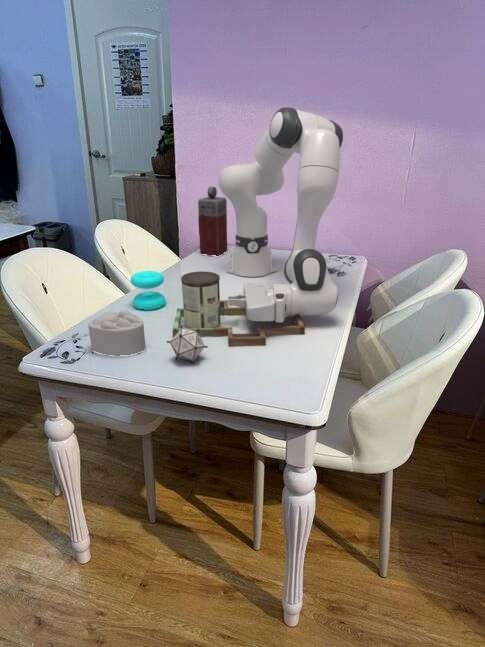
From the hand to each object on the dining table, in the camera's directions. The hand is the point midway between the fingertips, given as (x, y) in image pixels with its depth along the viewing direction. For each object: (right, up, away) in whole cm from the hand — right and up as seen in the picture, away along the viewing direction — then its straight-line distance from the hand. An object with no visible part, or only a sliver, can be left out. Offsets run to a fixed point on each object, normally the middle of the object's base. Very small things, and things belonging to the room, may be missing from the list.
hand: (228, 300), depth 124 cm
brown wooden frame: (+2, -6, +3) cm, 7 cm away
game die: (-9, -15, -16) cm, 24 cm away
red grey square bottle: (-10, +24, +73) cm, 78 cm away
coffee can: (-7, -7, +3) cm, 10 cm away
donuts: (-25, -1, +16) cm, 30 cm away
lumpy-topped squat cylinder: (-27, -12, -10) cm, 31 cm away
